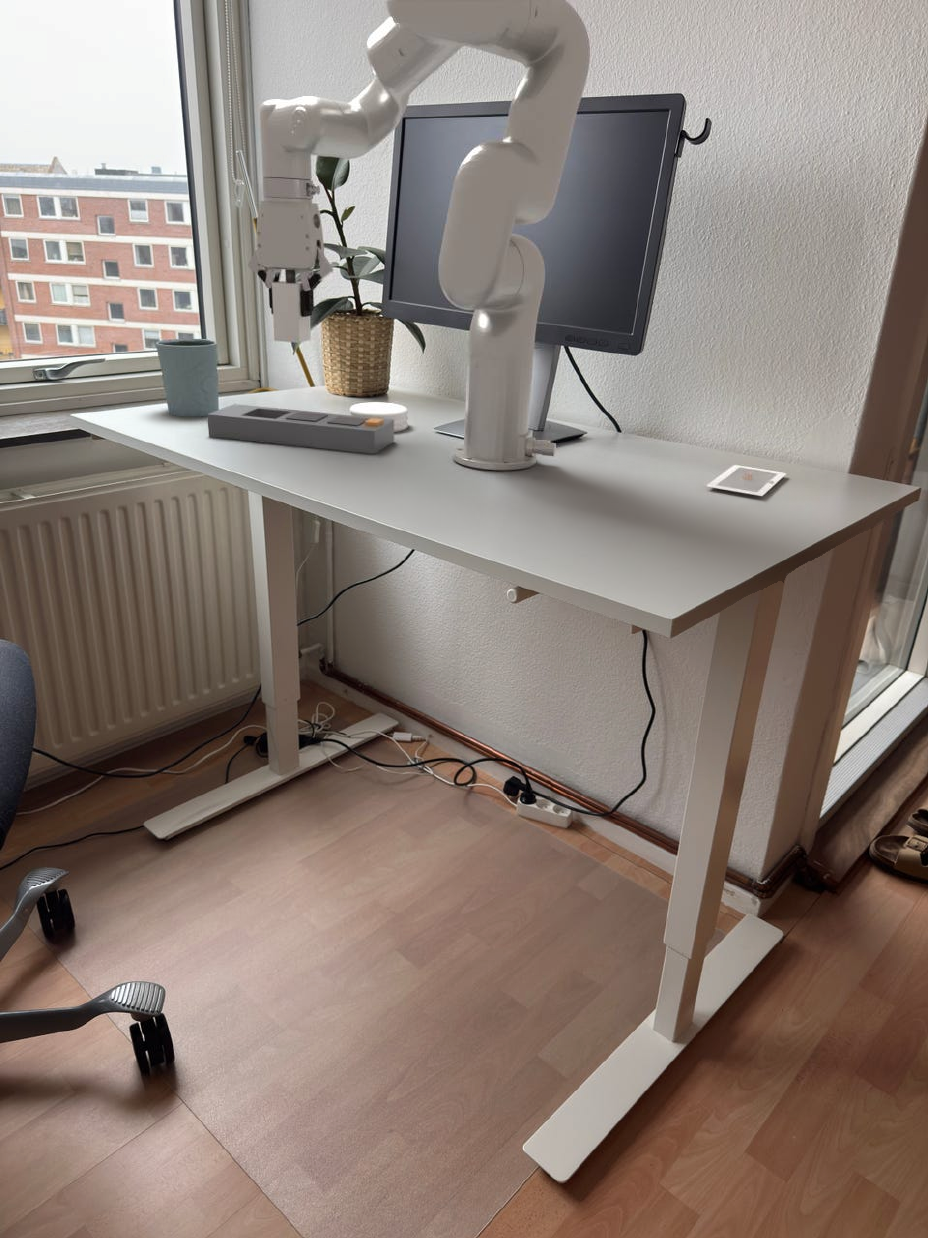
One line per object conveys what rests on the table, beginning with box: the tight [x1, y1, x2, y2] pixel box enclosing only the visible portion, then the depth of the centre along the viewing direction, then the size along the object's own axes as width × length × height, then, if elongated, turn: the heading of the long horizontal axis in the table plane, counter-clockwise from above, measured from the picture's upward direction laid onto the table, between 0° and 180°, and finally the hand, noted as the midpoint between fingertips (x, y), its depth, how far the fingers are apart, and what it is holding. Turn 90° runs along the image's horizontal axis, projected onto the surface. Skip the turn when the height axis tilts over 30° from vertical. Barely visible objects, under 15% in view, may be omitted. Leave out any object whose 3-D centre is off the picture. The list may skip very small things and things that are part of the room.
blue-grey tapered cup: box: [155, 338, 220, 418], centre depth 155 cm, size 10×10×12 cm
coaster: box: [349, 401, 409, 433], centre depth 152 cm, size 10×10×4 cm
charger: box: [272, 269, 312, 344], centre depth 145 cm, size 4×4×11 cm
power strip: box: [206, 403, 395, 455], centre depth 141 cm, size 28×9×4 cm, turn 75°
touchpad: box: [705, 464, 788, 497], centre depth 128 cm, size 8×15×2 cm, turn 149°
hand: (291, 313), depth 145 cm, fingers closed on charger, 4 cm apart
